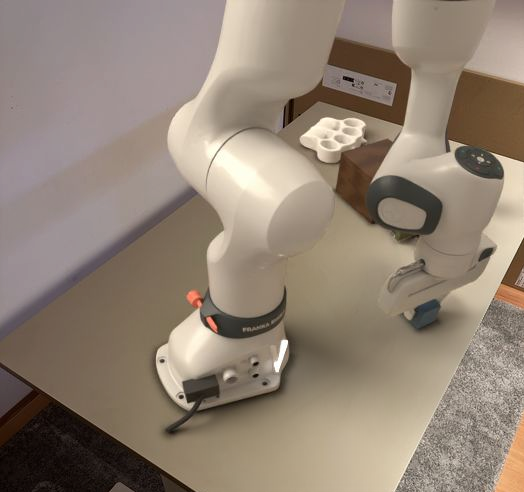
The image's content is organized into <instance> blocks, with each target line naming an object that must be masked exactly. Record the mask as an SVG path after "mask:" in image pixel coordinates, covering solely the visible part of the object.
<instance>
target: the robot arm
mask: <svg viewBox="0 0 524 492" xmlns="http://www.w3.org/2000/svg"><path fill="white" fill-rule="evenodd" d="M346 1H347V0H226V2H225V8H224V12H223V18H222V23H221V28H220V33H219V34H220V35H219V39H218V44H217V48H216V52H215V54H214V58H213V61H212V64H211V66H210V69H209V71H208V74H207V76H206V79H205V81H204V83H203V85H202V86H201V89H199V92H198V94H197V96H196V97H194V98H192V99H191V100H190V101H188V102H186V103H185V104H184V105H182V106H181V107H180V108H179V110H177V112H176V113H175V115H174V116H173V118H172V120H171V121H170V124H169V127H168V131H167V138H166V139H167V148H168V153H169V155H170V157H171V159H172V161H173V163H174V164H175V166H176V168H177V169H178V171H179V173H180V174H181V176H182V178H183V179H184V180H185V182H186V183H187V184H188V185H189V186H190V187H191V188H192V189H193V190H195V191H196V192H197V193H198V195H200V197H202V198H203V199H204V200H205V201H206V202H207V203H208V204H209V205H211V207H212V209H214V210H215V212H216V213H217V215H218V217H219V219H220V221H221V224H222V226H223V230H222V231H221V232H219V233H218V234H217V235H216V236H215V237H214V238H213V240H211V241H210V243H209V245H208V247H207V250H206V265H207V276H208V286H207V289H206V292H205V294H204V296H203V297H202V296H201V293H200V292H199V290H197V289H193V290H190V291H189V292H188V294H187V295H186V299H187V301H188V302H189V303H190V305H191V306H192V307H193V308H197V309H195V310H194V311H193V312H192V313H191V314H189V315H188V316H187V317H186V318H185V319H184V320H183V321H182V322H181V323H180V324H178V325H177V326H176V327H174V328H173V329H172V331H171V332H170V334H169V337H168V342H166V343H164V344H163V345H162V346H160V347H159V348H158V349H157V352H156V356H155V365H156V371H157V375H158V378H159V380H160V383H161V385H162V386H163V388H164V389H165V392H166V393H167V395H168V396H169V397H170V398H171V400H172V401H173V402H174V403H175V404H177V405H178V406H179V407H180V408H182V409H184V410H186V411H188V412H187V413H186V414H185V415H184V416H183V417H181V418H180V419H178V420H176V421H175V422H173V423H171V424H169V425H168V426H167V427H165V429H164V430H165V432H166V433H167V434H170V432H172V431H173V430H175V429H177V428H179V427H180V426H182V425H184V424H185V423H186V422H188V421H189V420H190V419H191V418H192V417H193V416H194V415H195V414H196V412H199V411H202V410H206V409H209V408H213V407H218V406H222V405H226V404H230V403H232V402H237V401H241V400H244V399H245V400H246V399H249V398H252V397H255V396H260V395H263V394H266V393H271V392H275V391H276V390H278V389H279V387H280V385H281V374H282V372H283V370H284V369H285V367H286V365H287V363H288V361H289V358H290V344H289V341H288V338H287V336H286V330H285V323H284V322H285V321H284V317H285V315H286V311H287V296H288V295H287V294H288V293H287V287H286V285H285V284H286V274H287V266H288V260H289V259H290V258H294V257H298V256H300V255H303V254H305V253H306V252H308V251H310V250H311V249H312V248H313V247H315V246H316V245H317V244H319V242H320V241H321V240H322V239H323V237H324V236H326V233H327V232H328V230H329V228H330V226H331V224H332V221H333V218H334V215H335V208H336V196H335V193H334V190H333V188H332V186H331V185H330V184H329V183H328V181H327V179H326V178H324V175H322V174H321V172H320V171H319V170H318V169H317V167H316V166H315V165H314V164H313V163H312V161H311V160H309V158H308V157H307V156H305V155H303V154H302V153H301V152H299V151H298V150H296V149H295V148H294V147H292V146H291V145H289V144H288V143H287V142H285V141H284V140H282V139H281V138H280V137H279V136H277V132H276V131H277V130H276V128H277V123H278V120H279V119H280V116H281V114H282V112H283V110H284V108H285V106H286V105H287V104H288V102H289V101H290V100H291V99H292V100H293V99H296V98H299V97H302V96H304V95H306V94H308V93H310V92H311V91H313V90H314V89H315V88H316V87H317V86H318V85H319V84H320V83H321V81H322V79H323V78H324V75H325V72H326V70H327V69H326V68H327V65H328V62H329V59H330V55H331V52H332V48H333V45H334V42H335V38H336V35H337V31H338V28H339V25H340V21H341V17H342V15H343V11H344V9H345V8H344V7H345V4H346ZM392 1H393V2H392V7H391V8H392V9H391V45H392V46H391V47H392V49H393V51H394V53H395V55H396V56H397V58H398V59H399V60H400V61H401V62H402V63H403V64H404V65H405V66H407V67H408V68H410V70H411V71H410V72H411V80H410V85H409V91H408V97H407V98H408V99H407V105H406V110H405V117H404V122H403V125H402V128H401V130H400V131H399V133H398V134H397V135H396V136H395V138H393V141H392V144H391V146H390V148H389V150H388V153H387V155H386V157H385V159H384V161H383V162H382V164H381V166H380V168H379V170H378V171H377V173H376V174H375V176H374V178H373V180H372V182H371V184H370V186H369V187H368V189H367V191H366V195H365V204H366V208H367V211H368V213H369V215H370V216H371V218H372V219H373V220H374V221H375V222H374V223H376V224H377V225H378V226H380V227H381V228H384V229H386V230H389V231H391V232H393V231H397V232H402V233H408V234H414V236H418V239H417V243H416V246H415V249H414V251H413V259H414V262H411V263H410V264H408V265H404V266H402V267H399V268H397V269H396V270H394V271H393V272H391V274H389V276H388V277H387V278H386V280H385V282H384V285H383V287H382V289H381V292H380V295H379V296H378V300H377V305H378V306H379V308H380V309H381V310H382V311H383V312H384V313H385V314H386V315H387V316H389V317H390V318H394V317H396V316H398V315H399V316H400V315H402V314H403V316H404V317H405V318H406V320H408V321H410V320H411V319H413V318H416V316H417V314H418V311H417V310H416V309H415V308H416V307H417V306H419V305H422V304H424V303H426V302H428V301H431V300H433V299H435V300H436V301H437V302H438V303H439V304H440V305H441V306H442V303H443V301H444V300H445V299H447V297H448V296H449V295H450V294H451V292H453V291H456V290H457V289H461V288H462V287H465V286H467V285H469V284H471V283H474V282H476V281H477V280H478V279H479V278H481V276H482V275H483V273H484V272H485V270H486V268H487V266H488V264H489V262H490V260H491V257H493V255H494V254H495V252H497V249H498V244H496V242H494V241H493V240H492V239H491V238H490V237H488V235H486V234H485V233H484V231H485V229H486V228H487V227H488V226H489V224H490V222H491V221H492V219H493V217H494V214H495V211H496V209H497V207H498V204H499V201H500V199H501V196H502V192H503V189H504V185H505V169H504V166H503V164H502V163H501V161H500V160H499V159H498V158H497V157H496V155H494V154H493V153H492V152H490V151H488V150H487V149H484V148H482V147H479V146H475V145H460V146H458V147H456V148H454V149H452V150H451V145H450V140H449V132H448V131H449V130H448V126H449V121H450V117H451V112H452V108H453V106H454V105H453V104H454V100H455V96H456V93H457V88H458V85H459V81H460V80H459V79H460V76H461V75H462V73H463V70H464V69H465V66H466V65H467V64H468V63H469V62H470V61H471V60H472V59H473V57H474V55H475V53H476V52H477V49H478V47H479V46H480V43H481V41H482V39H483V36H484V35H485V32H486V29H487V27H488V24H489V22H490V20H491V17H492V14H493V11H494V9H495V5H496V2H497V0H392Z"/></svg>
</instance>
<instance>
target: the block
mask: <svg viewBox="0 0 524 492" xmlns="http://www.w3.org/2000/svg"><path fill="white" fill-rule="evenodd" d="M441 307H442V304H441V305H440V304H439V303H438V302H437V301H436V300H435V299H433V300H431V301H428V302H426V303H424V304H422V305H419V306H417V307H416V308H415V309H416V310H417V311H418V314H417V316H416V318H413V319H411V320H409V322H410V323H411V324H412V325H413V326H414V327H415V328H416V329H417V330H419V329H421V328H422V327H425V326H427V325H430V324H431V323H435V321H436V319H437V317H438V315H439V312H440V310H441Z"/></svg>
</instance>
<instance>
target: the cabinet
mask: <svg viewBox="0 0 524 492" xmlns="http://www.w3.org/2000/svg"><path fill="white" fill-rule="evenodd" d="M392 142H393V141H392V140H391V139H390V138H384V139H381V140H378V141H374V142H371V143H367V144H364V145H362V146H360V147H357V148H354V149H350V150H347V151H344V152H341V158H340V160H339V164H338V165H339V166H338V172H337V177H336V178H337V179H336V186H335V193H337V194H338V195H339V197H341V198H342V199H343V200H344V201H345V202H347V203H348V204H349V205H350V206H351V207H352V208H353V209H354V210H355V211H356V212H358V213H359V214H360V215H361V216H362V218H364V219H365V220H366V221H367V222H368V223H370V224H374V223H376V222H375V221H374V220H373V219H372V218H371V216H370V215H369V213H368V211H367V208H366V204H365V195H366V191H367V189H368V187H369V186H370V184H371V182H372V180H373V178H374V176H375V174H376V173H377V171H378V170H379V168H380V166H381V164H382V162H383V161H384V159H385V157H386V155H387V153H388V150H389V148H390V146H391V144H392Z"/></svg>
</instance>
